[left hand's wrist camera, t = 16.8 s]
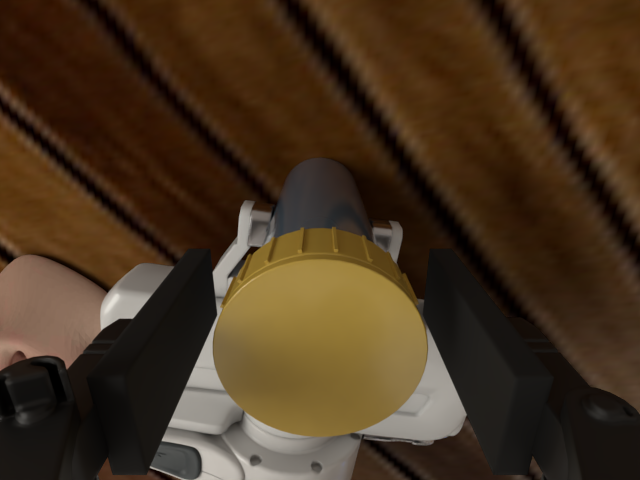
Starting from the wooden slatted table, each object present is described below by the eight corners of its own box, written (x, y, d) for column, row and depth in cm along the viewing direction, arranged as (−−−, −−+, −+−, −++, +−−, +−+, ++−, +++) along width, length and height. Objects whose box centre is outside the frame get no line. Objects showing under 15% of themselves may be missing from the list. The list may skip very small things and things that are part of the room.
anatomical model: (-68, 263, 23) (131, 322, 24) (-13, 238, 26) (156, 291, 28) (-69, 425, 27) (97, 466, 29) (-23, 384, 31) (123, 423, 33)
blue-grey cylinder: (297, 145, 24) (264, 238, 10) (369, 173, 25) (438, 299, 10) (272, 215, 26) (212, 383, 11) (340, 240, 27) (365, 428, 12)
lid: (212, 360, 13) (192, 413, 11) (252, 201, 11) (236, 229, 9) (375, 399, 14) (384, 456, 12) (440, 255, 12) (467, 293, 10)
